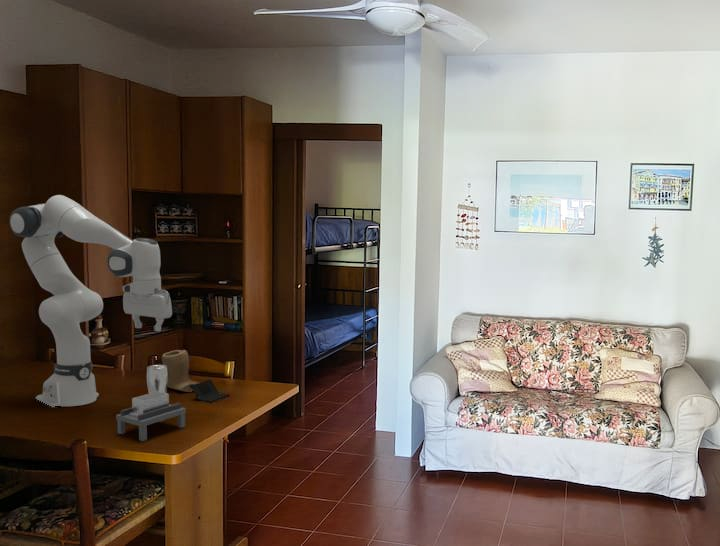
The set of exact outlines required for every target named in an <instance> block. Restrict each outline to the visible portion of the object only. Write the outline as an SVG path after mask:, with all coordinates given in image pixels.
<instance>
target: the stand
mask: <svg viewBox="0 0 720 546" xmlns="http://www.w3.org/2000/svg"><path fill="white" fill-rule="evenodd" d="M169 405H170V406H167V407H163V408H160V409H157V410H153V411H150V412H147V413H143V414H140V415H138V418H136V417H132V416H129V413H131V412H132V407H128V408H125V409H122V410H120V413H118V414H115V417H116V422H117V428H116V429H117V434H118V433H119V434H122V435H125V434H126V423H128V424H129V425H135V426H138V440H139V441H141V442H145V441H148V430H147V429H148V427H147V426H149V425H152V424H155V423H159V422H160V423H163V422H164V421H165V420H167V419H168V420H169V419H171V418H175V417H177V428H178V429H183V428H185V427H186V412H187V408H185V407H182V403H181V402H176V403H174V404H169ZM162 421H163V422H162ZM182 427H183V428H182ZM124 433H125V434H124ZM119 434H118V435H119Z"/></svg>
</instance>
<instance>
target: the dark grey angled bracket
mask: <svg viewBox="0 0 720 546" xmlns="http://www.w3.org/2000/svg"><path fill="white" fill-rule="evenodd" d="M191 387H192V389H193V392H194V394H195V396H196V398H197V399H198V400H199V401H198V400H197V401H198V402H200V401H205V402H204V403H206V402H210V403H209V404H213V403H212V402H214V403H215V401H216V402H218V401H217V400H219V399H221V400H223V399H222V398H224V399H226V398H225V397H227V398H229V397H230V393H224V392H220V391H218V389H217V388H216V386H215V385H214V382H213V381H212V379H206V380H204V381H201V382H198V384H195V385H192V386H191ZM228 396H229V397H228ZM219 401H220V400H219Z"/></svg>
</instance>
